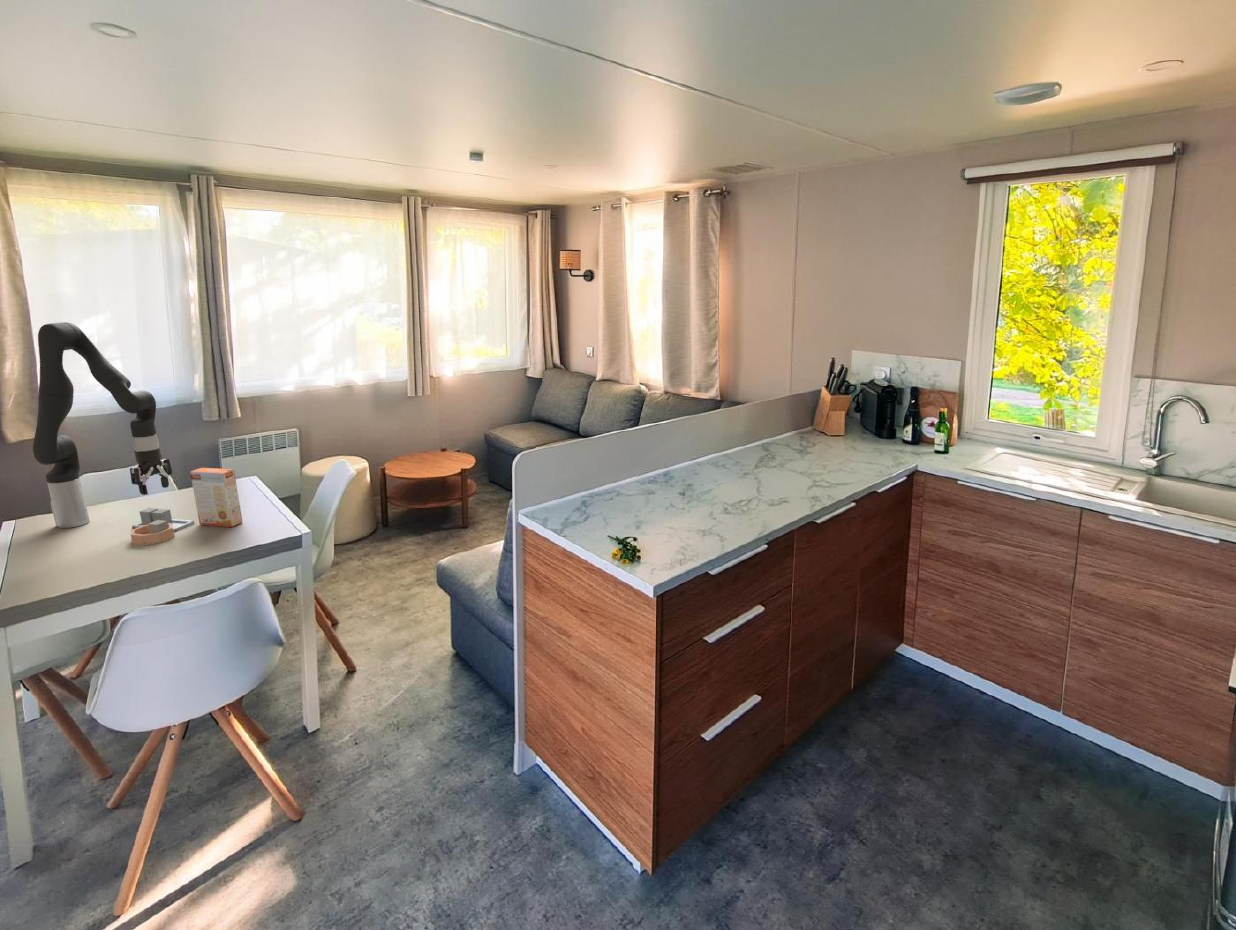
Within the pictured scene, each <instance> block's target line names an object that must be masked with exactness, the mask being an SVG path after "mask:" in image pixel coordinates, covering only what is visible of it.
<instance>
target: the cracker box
mask: <svg viewBox="0 0 1236 930" xmlns="http://www.w3.org/2000/svg"><path fill="white" fill-rule="evenodd" d="M189 472H190V478H191V485H192V489H193V490H192V491H193V494H194V500H195V505H196V506H195V507H196V511H197V517H198V522H199V523H198V524H199V526H200V525H201V526H212V527H225V528H233V527H235V526H237V525H239V524H241V523H243V515H242V510H241V505H240V504H241V503H240V498H239V492H238V485H237V479H236V474H235V470H234V469H231V468H227V469H226V468H216V467H215V468H211V467H200V468H197V469H193V470H191V471H189Z"/></svg>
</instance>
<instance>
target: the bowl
mask: <svg viewBox="0 0 1236 930" xmlns="http://www.w3.org/2000/svg"><path fill="white" fill-rule="evenodd" d="M173 538H175V532H174V528H173V524H172V523H168V529H165V530H163V531H161V532H157V533H151V534H149V529H148V525H143V526H141V527H138V528H136V529H134V528H132V529H131V531H130V539H131V543H132V545H136V546H148V545H153V544H160V543H164V542H166V541H168V540H170V539H173Z"/></svg>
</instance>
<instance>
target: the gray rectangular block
mask: <svg viewBox="0 0 1236 930" xmlns="http://www.w3.org/2000/svg"><path fill="white" fill-rule="evenodd" d="M151 513H152V518H153V522H154V521H156V520H164V521H167V523H172V519H173V518H172V513H171V509H168V508H167V509H166V508H160V509H159V508H158V510H157V511H154V512H151ZM172 524H173V523H172Z"/></svg>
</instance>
